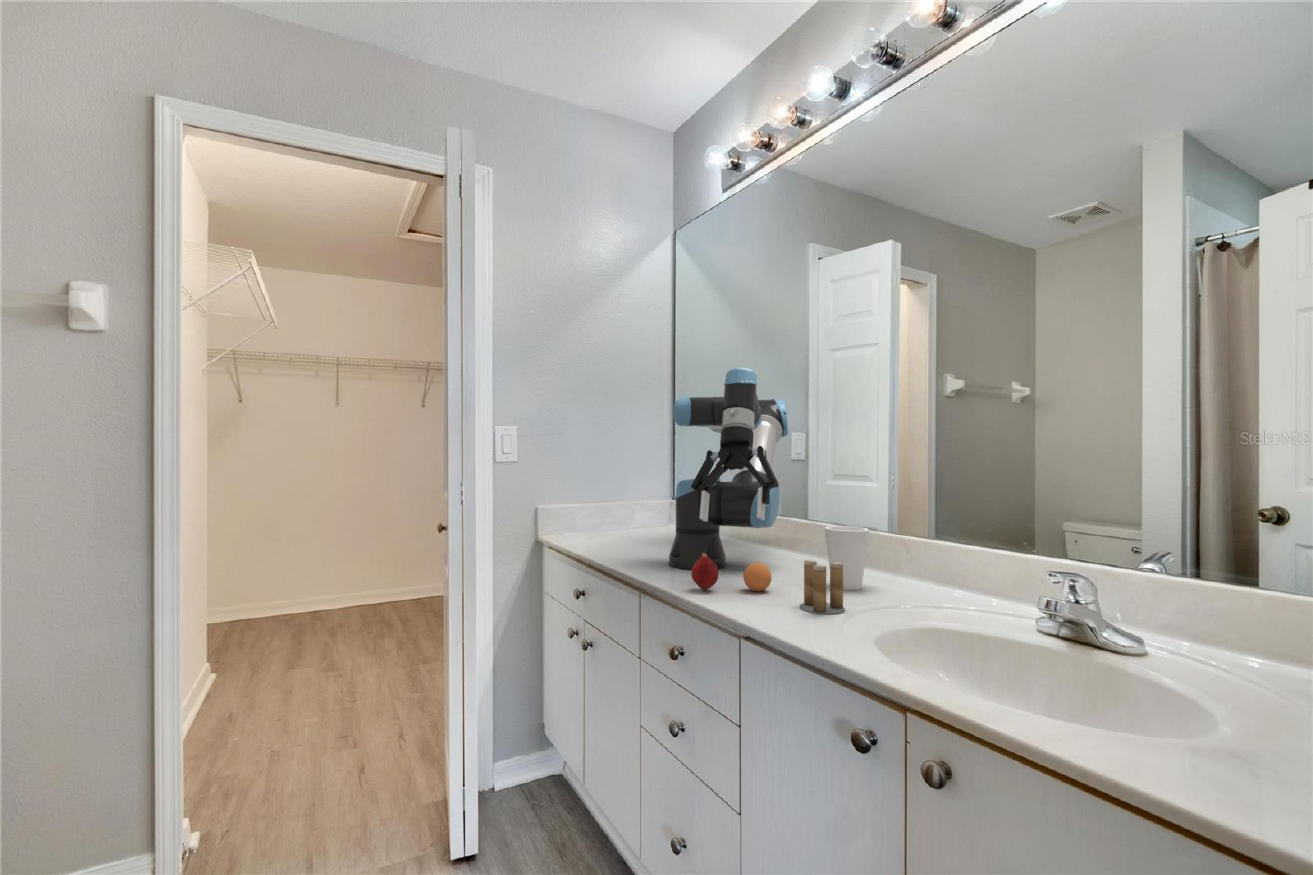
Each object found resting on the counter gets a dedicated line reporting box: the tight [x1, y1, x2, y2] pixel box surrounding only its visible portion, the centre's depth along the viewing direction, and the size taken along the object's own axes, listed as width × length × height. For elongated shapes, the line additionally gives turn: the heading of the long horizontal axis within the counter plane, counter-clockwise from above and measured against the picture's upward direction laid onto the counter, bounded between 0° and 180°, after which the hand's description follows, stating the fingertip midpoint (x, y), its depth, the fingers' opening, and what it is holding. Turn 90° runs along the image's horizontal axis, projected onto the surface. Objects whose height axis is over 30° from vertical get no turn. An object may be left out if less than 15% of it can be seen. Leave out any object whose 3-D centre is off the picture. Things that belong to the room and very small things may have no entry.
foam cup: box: [824, 525, 870, 591], centre depth 135 cm, size 10×9×13 cm
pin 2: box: [829, 562, 844, 609], centre depth 116 cm, size 2×2×9 cm
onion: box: [690, 553, 719, 592], centre depth 129 cm, size 6×6×8 cm
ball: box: [743, 562, 772, 592], centre depth 130 cm, size 6×6×6 cm
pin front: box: [803, 559, 818, 606], centre depth 118 cm, size 2×2×9 cm
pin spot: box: [799, 602, 846, 615], centre depth 115 cm, size 8×8×1 cm
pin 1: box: [813, 564, 827, 612], centre depth 113 cm, size 2×2×9 cm
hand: (731, 519), depth 132 cm, fingers open, 13 cm apart
